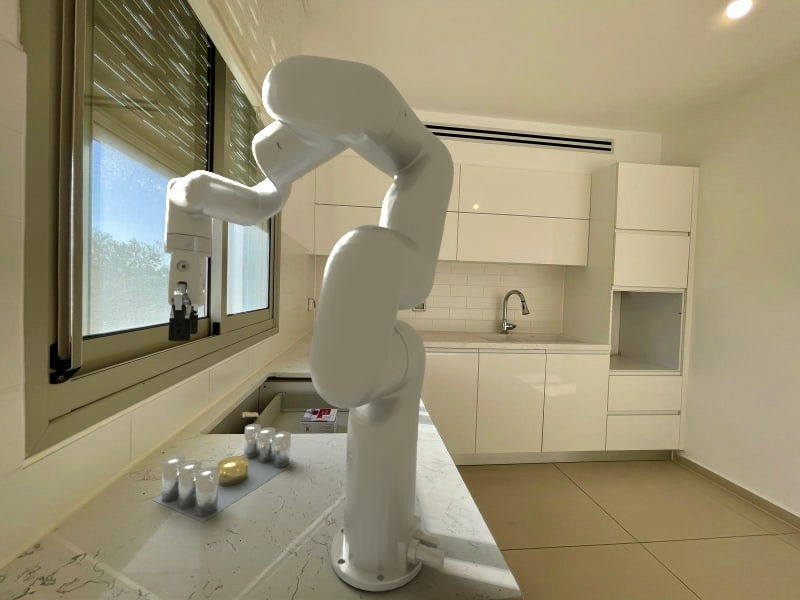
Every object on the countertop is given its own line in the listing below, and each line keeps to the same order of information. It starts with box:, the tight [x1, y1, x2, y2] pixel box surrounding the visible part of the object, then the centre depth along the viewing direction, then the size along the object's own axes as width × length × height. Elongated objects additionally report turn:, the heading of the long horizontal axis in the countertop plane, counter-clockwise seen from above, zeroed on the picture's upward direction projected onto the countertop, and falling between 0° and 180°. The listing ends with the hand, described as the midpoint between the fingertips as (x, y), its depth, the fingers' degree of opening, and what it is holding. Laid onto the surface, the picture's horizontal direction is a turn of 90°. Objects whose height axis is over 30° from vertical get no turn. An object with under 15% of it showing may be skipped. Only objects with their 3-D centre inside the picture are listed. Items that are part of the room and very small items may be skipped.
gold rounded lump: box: [216, 455, 248, 487], centre depth 60 cm, size 5×5×3 cm
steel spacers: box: [161, 423, 292, 517], centre depth 60 cm, size 11×19×6 cm, turn 157°
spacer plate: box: [151, 453, 297, 523], centre depth 60 cm, size 12×20×1 cm, turn 157°
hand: (184, 337), depth 63 cm, fingers open, 9 cm apart
